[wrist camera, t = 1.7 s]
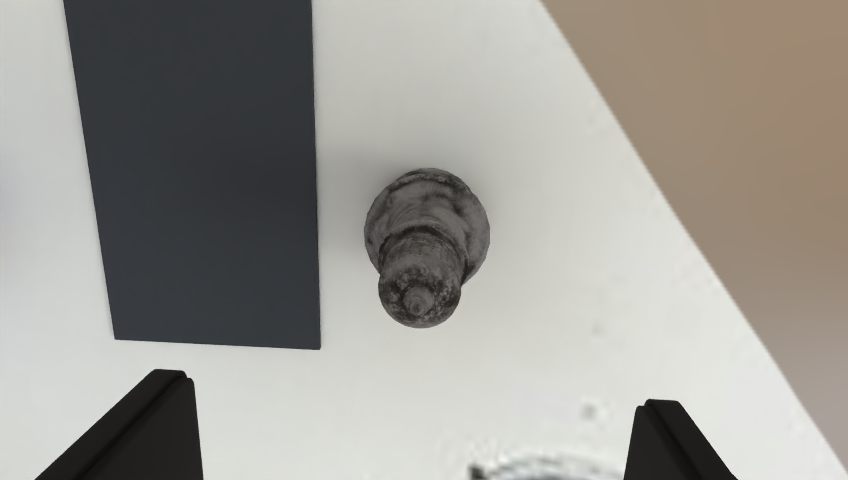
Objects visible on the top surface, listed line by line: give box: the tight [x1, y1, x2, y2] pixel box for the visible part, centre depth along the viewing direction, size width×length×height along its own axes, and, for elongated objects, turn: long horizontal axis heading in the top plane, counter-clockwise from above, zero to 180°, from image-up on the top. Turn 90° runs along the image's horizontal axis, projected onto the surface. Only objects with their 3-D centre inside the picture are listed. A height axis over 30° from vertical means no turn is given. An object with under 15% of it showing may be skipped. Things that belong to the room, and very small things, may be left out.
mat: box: [63, 0, 321, 350], centre depth 27 cm, size 20×12×1 cm, turn 178°
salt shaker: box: [364, 169, 490, 328], centre depth 22 cm, size 6×6×12 cm
